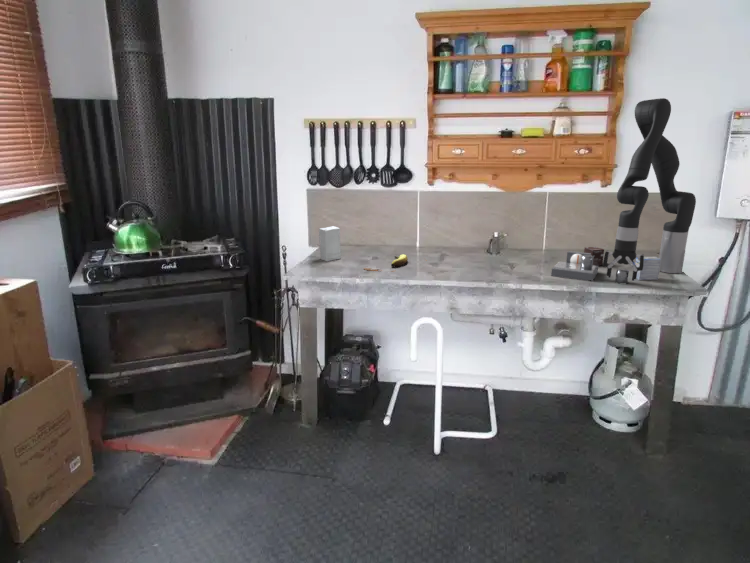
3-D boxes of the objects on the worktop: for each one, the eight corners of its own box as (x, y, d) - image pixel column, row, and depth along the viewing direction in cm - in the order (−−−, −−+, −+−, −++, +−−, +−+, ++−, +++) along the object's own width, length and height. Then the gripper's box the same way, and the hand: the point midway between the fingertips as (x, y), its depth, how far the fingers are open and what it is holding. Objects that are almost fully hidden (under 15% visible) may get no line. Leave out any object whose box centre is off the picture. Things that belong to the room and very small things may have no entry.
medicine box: (652, 277, 214) (655, 256, 212) (658, 280, 210) (661, 259, 207) (633, 277, 214) (636, 256, 211) (638, 280, 210) (641, 259, 207)
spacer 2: (627, 281, 208) (629, 269, 207) (626, 284, 205) (628, 272, 203) (615, 280, 210) (617, 268, 209) (614, 282, 207) (616, 270, 205)
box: (590, 266, 231) (592, 250, 228) (582, 263, 236) (584, 247, 234) (602, 265, 232) (604, 249, 230) (593, 262, 238) (595, 246, 236)
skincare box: (334, 256, 250) (333, 225, 246) (341, 259, 245) (340, 227, 241) (319, 259, 245) (318, 227, 241) (326, 261, 241) (325, 229, 236)
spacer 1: (592, 267, 214) (594, 255, 213) (591, 270, 210) (593, 258, 209) (581, 266, 216) (582, 254, 214) (579, 268, 212) (581, 256, 211)
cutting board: (419, 276, 218) (420, 267, 217) (357, 271, 226) (357, 263, 225) (435, 257, 251) (435, 249, 249) (380, 253, 258) (380, 245, 257)
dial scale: (597, 272, 221) (599, 254, 218) (592, 281, 209) (594, 261, 207) (558, 268, 228) (559, 250, 226) (551, 275, 216) (553, 257, 214)
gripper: (647, 238, 202) (641, 278, 207) (607, 234, 209) (602, 274, 214) (646, 241, 196) (640, 283, 201) (605, 238, 203) (600, 278, 207)
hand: (621, 278), depth 207 cm, fingers open, 8 cm apart
